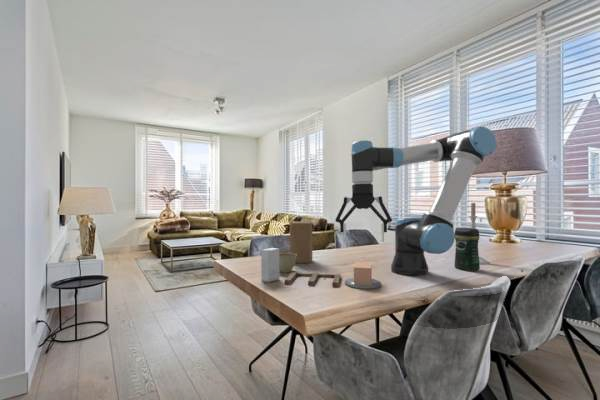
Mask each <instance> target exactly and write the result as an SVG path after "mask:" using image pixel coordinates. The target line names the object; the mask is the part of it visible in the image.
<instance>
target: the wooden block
mask: <svg viewBox="0 0 600 400" xmlns="http://www.w3.org/2000/svg"><path fill="white" fill-rule="evenodd" d="M289 253H294V254H297V258H296V262H295V264H302V263H308V264H310V263H311V262H312V261H311V260H313V222H312V221H296V220H295V221H293V222H290V223H289Z"/></svg>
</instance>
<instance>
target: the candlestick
mask: <svg viewBox="0 0 600 400" xmlns="http://www.w3.org/2000/svg"><path fill="white" fill-rule="evenodd" d="M469 218H470V222H471V223H470V228H473V229H477V225H476V220H477V218H478V216H476V202H475V203H474V202H471V203H470V215H469ZM479 263H480V265H487V264H489V260H487V259H486V258H483V257H480V256H479Z"/></svg>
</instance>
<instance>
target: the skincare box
mask: <svg viewBox="0 0 600 400" xmlns="http://www.w3.org/2000/svg"><path fill="white" fill-rule="evenodd" d="M260 252H261V254H260V255H261V259H260V260H261V262H260V263H261V269H260V270H261V271H260V272H261V273H260V274H261V275H260V276H261V277H260V279H261V281H262V282H266V283H270V282H273V281H277V280H279V279H280V271H279V253H280V248H276V247H269V248H268V247H267V248H264V249H261V250H260Z"/></svg>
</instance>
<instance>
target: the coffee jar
mask: <svg viewBox="0 0 600 400" xmlns="http://www.w3.org/2000/svg"><path fill="white" fill-rule="evenodd" d="M453 235H454V236H455V239H454V241H455V254H454V255H455V256H454V268H456V269H458V270H462V271H468V272H469V271H472V272H476V271H479V270H480V269H481V267H480V266H481V264H480V263H479V257H480V256H479V240H480V232H479V230H478V229H477V228H476V229H473V228H471V227H456V228H455V229H454V234H453Z"/></svg>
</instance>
